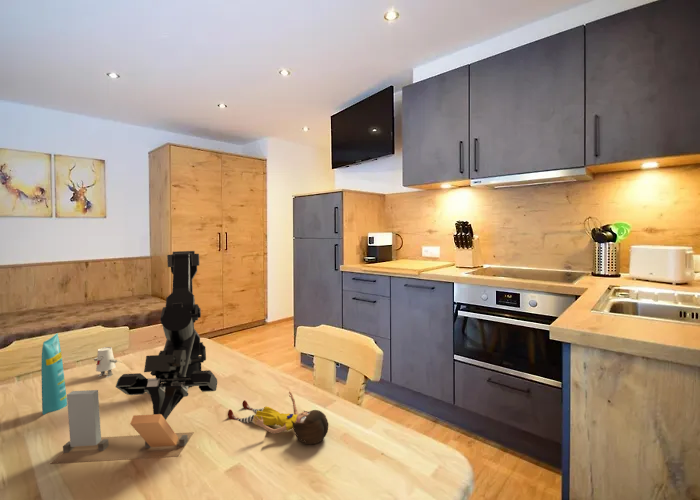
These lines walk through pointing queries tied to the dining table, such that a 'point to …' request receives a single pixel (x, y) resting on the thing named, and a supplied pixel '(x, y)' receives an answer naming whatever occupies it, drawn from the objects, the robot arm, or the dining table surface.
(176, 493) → the dining table surface
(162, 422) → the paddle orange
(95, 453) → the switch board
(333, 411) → the dining table surface
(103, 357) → the toy figure
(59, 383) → the tube
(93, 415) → the grey tall block
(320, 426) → the figurine
